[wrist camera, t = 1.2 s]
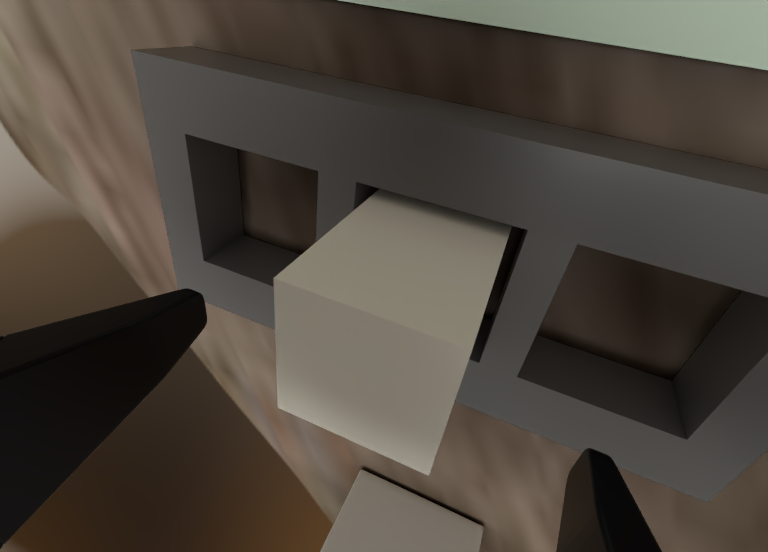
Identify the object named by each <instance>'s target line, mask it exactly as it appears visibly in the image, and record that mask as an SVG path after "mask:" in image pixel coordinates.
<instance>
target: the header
mask: <svg viewBox="0 0 768 552" xmlns="http://www.w3.org/2000/svg"><path fill="white" fill-rule="evenodd" d="M131 52H132V57H133V62H134V67H135V72H136V78H137V83H138V88H139V93H140V98H141V103H142V108H143V113H144V118H145V123H146V128H147V133H148V138H149V143H150V148H151V153H152V158H153V163H154V168H155V173H156V178H157V183H158V188H159V193H160V198H161V204H162V209H163V214H164V219H165V224H166V229H167V234H168V239H169V244H170V249H171V254H172V259H173V264H174V269H175V274H176V279H177V284H178V289H179V290H181V289H185V288H188V289H192V290H194V291H197V292H199V293H201V294H202V295H203V297H204V301H205V302H207V303H210V304H212V305H215V306H217V307H220V308H222V309H225V310H227V311H230V312H232V313H235V314H237V315H240V316H242V317H245V318H247V319H250V320H252V321H255V322H257V323H260V324H262V325H265V326H267V327H270V328H272V329H275V308H274V279H273V278H274V277H275V276H277V275H278V274H279V273H280V272H281V271H283V270H284V269H285V268H286V267H287V266H288V265H290V264H291V263H292V262H293V261H294V260H296V259H297V258H298V257H299V256H300V255H301V254H298V253H295V252H292V251H289V250H286V249H283V248H280V247H277V246H274V245H271V244H268V243H265V242H262V241H260V240H257V239H254V238H251V237H248V236H245V235H244V229H243V216H242V203H241V190H240V177H239V165H238V152H237V149H241V150H244V151H248V152H252V153H255V154H259V155H262V156H266V157H269V158H273V159H277V160H280V161H284V162H287V163H291V164H294V165H298V166H301V167H305V168H309V169H312V170H316V171H318V195H317V222H316V242H317V241H318V240H319V239H321V238H322V237H323V236H324V235H325V234H326V233H328V232H329V231H330V230H331V229H332V228H334V227H335V226H336V225H337V224H338V223H340V222H341V221H342V220H343V219H344V218H346V217H347V216H348V215H349V214H350V213H351V212H353V211H354V210H355V209H356V208H357V207H359V206H360V205H361V204H362V203H363V202H365V201H366V200H367V199H368V198H369V197H370V196H372V195H373V194H374V193H375V192H376V191H378V190H379V189H383V190H387V191H390V192H394V193H398V194H401V195H405V196H408V197H412V198H415V199H419V200H423V201H426V202H430V203H433V204H437V205H440V206H444V207H447V208H451V209H455V210H458V211H462V212H465V213H469V214H472V215H476V216H480V217H483V218H487V219H490V220H494V221H497V222H501V223H504V224H508V225H512V226H515V227H519V228H522V229H524V232H523V235H522V238H521V241H520V243H519V246H518V249H517V252H516V254H515V257H514V260H513V263H512V265H511V268H510V271H509V274H508V276H507V279H506V282H505V285H504V287H503V290H502V293H501V296H500V299H499V301H498V304H497V307H496V310H495V312H494V315H493V318H492V320H491V319H488V318H485V317H483V318H482V321H481V324H480V327H479V331H478V334H477V337H476V340H475V343H474V346H473V349H472V352H471V355H470V358H469V361H468V364H467V367H466V370H465V372H464V375H463V378H462V381H461V384H460V387H459V390H458V393H457V396H456V399H455V401H454V402H457V403H459V404H462V405H464V406H467V407H469V408H472V409H474V410H477V411H479V412H482V413H484V414H487V415H489V416H492V417H494V418H497V419H499V420H502V421H504V422H507V423H509V424H512V425H514V426H517V427H519V428H522V429H524V430H527V431H529V432H532V433H534V434H537V435H539V436H542V437H544V438H547V439H549V440H552V441H554V442H557V443H559V444H562V445H564V446H567V447H569V448H572V449H574V450H577V451H579V452H582V453H583V451H584V450H585V449H587V448H592V449H594V450H597V451H599V452H602V453H605V454H607V455H609V456H610V457H611V458H612V459H613V461H614V463H615V465H616V466H617V467H619V468H622V469H624V470H627V471H629V472H632V473H634V474H637V475H639V476H642V477H644V478H647V479H649V480H652V481H654V482H657V483H659V484H662V485H664V486H667V487H669V488H672V489H674V490H677V491H679V492H682V493H684V494H687V495H689V496H692V497H694V498H697V499H699V500H702V501H704V502H707V503H708V502H709V501H710V500H711V499H712V498H714V497H715V496H716V495H717V494H718V493H719V492H720V491H721V490H723V489H724V488H725V487H726V486H727V485H728V484H729V483H731V482H732V481H733V480H734V479H735V478H736V477H737V476H739V475H740V474H741V473H742V472H743V471H744V470H745V469H746V468H748V467H749V466H750V465H751V464H752V463H753V462H754V461H756V460H757V459H758V458H759V457H760V456H761V455H762V454H763V453H765V452H766V451H767V450H768V170H766V169H761V168H756V167H752V166H747V165H742V164H738V163H733V162H728V161H724V160H719V159H714V158H710V157H705V156H700V155H696V154H691V153H686V152H682V151H677V150H672V149H668V148H663V147H658V146H654V145H649V144H644V143H640V142H635V141H630V140H626V139H621V138H616V137H612V136H607V135H602V134H598V133H593V132H588V131H584V130H579V129H574V128H570V127H565V126H560V125H556V124H551V123H546V122H542V121H537V120H532V119H528V118H523V117H518V116H514V115H509V114H505V113H500V112H495V111H491V110H486V109H481V108H477V107H472V106H467V105H463V104H458V103H453V102H449V101H444V100H439V99H435V98H430V97H425V96H421V95H416V94H411V93H407V92H402V91H397V90H393V89H388V88H383V87H379V86H374V85H369V84H365V83H360V82H355V81H351V80H346V79H341V78H337V77H332V76H327V75H323V74H318V73H313V72H309V71H304V70H299V69H295V68H290V67H285V66H281V65H276V64H271V63H267V62H262V61H257V60H253V59H248V58H243V57H239V56H234V55H229V54H225V53H220V52H215V51H211V50H206V49H201V48H197V47H192V46H189V47H172V48H156V49H139V50H131ZM577 244H579V245H583V246H586V247H590V248H593V249H597V250H601V251H604V252H608V253H611V254H615V255H618V256H622V257H626V258H629V259H633V260H636V261H640V262H643V263H647V264H650V265H654V266H658V267H661V268H665V269H668V270H672V271H675V272H679V273H683V274H686V275H690V276H693V277H697V278H700V279H704V280H707V281H711V282H715V283H718V284H722V285H725V286H729V287H732V288H736V289H740V290H742V291H741V293H740V294H739V295H738V296H737V298H736V299H735V300H734V302H733V303H732V304H731V305H730V307H729V308H728V309H727V311H726V312H725V313H724V314H723V316H722V317H721V318H720V320H719V321H718V322H717V323H716V325H715V326H714V327H713V329H712V330H711V331H710V332H709V334H708V335H707V336H706V338H705V339H704V340H703V341H702V343H701V344H700V345H699V347H698V348H697V349H696V350H695V352H694V353H693V354H692V356H691V357H690V358H689V359H688V361H687V362H686V363H685V365H684V366H683V367H682V368H681V370H680V371H679V372H678V374H677V375H676V376H675V377H674V379H673V380H672V381H670V380H667V379H664V378H661V377H658V376H655V375H652V374H649V373H646V372H643V371H640V370H637V369H634V368H631V367H629V366H626V365H623V364H620V363H617V362H614V361H611V360H608V359H605V358H602V357H599V356H596V355H593V354H590V353H588V352H585V351H582V350H579V349H576V348H573V347H570V346H567V345H564V344H561V343H558V342H555V341H552V340H549V339H547V338H544V337H541V336H538V335H536V334H537V332H538V330H539V327H540V325H541V323H542V321H543V319H544V317H545V314H546V312H547V310H548V308H549V306H550V303H551V301H552V299H553V297H554V295H555V292H556V290H557V288H558V286H559V284H560V281H561V279H562V277H563V275H564V273H565V270H566V268H567V266H568V264H569V262H570V259H571V257H572V255H573V253H574V251H575V248H576V246H577Z"/></svg>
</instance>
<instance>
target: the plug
mask: <svg viewBox="0 0 768 552" xmlns="http://www.w3.org/2000/svg"><path fill="white" fill-rule="evenodd" d="M511 228H512V225H508V224H504V223H501V222H497V221H494V220H490V219H487V218H483V217H480V216H476V215H472V214H469V213H465V212H462V211H458V210H455V209H451V208H447V207H444V206H440V205H437V204H433V203H430V202H426V201H423V200H419V199H415V198H412V197H408V196H405V195H401V194H398V193H394V192H390V191H387V190H383V189H379V190H378V191H376V192H375V193H374V194H373V195H372V196H370V197H369V198H368V199H367V200H366V201H365V202H363V203H362V204H361V205H360V206H359V207H357V208H356V209H355V210H354V211H353V212H351V213H350V214H349V215H348V216H347V217H346V218H344V219H343V220H342V221H341V222H340V223H338V224H337V225H336V226H335V227H334V228H332V229H331V230H330V231H329V232H328V233H326V234H325V235H324V236H323V237H322V238H321V239H319V240H318V241H317V242H316V243H315V244H313V245H312V246H311V247H310V248H309V249H307V250H306V251H305V252H304V253H303V254H302V255H300V256H299V257H298V258H297V259H296V260H294V261H293V262H292V263H291V264H290V265H288V266H287V267H286V268H285V269H284V270H283V271H281V272H280V273H279V274H278V275H277V276H275V277H274V278H273V279H274V308H275V337H276V366H277V395H278V408H280V409H282V410H284V411H286V412H289V413H291V414H293V415H295V416H297V417H300V418H302V419H304V420H306V421H308V422H311V423H313V424H315V425H317V426H320V427H322V428H324V429H326V430H328V431H331V432H333V433H335V434H337V435H339V436H342V437H344V438H346V439H348V440H350V441H353V442H355V443H357V444H359V445H362V446H364V447H366V448H368V449H370V450H373V451H375V452H377V453H379V454H381V455H384V456H386V457H388V458H390V459H392V460H395V461H397V462H399V463H401V464H403V465H406V466H408V467H410V468H412V469H415V470H417V471H419V472H421V473H423V474H426V475H428V476H429V474H430V471H431V468H432V465H433V462H434V459H435V456H436V453H437V451H438V448H439V445H440V442H441V439H442V436H443V433H444V430H445V427H446V425H447V422H448V419H449V416H450V413H451V410H452V407H453V404H454V401H455V399H456V396H457V393H458V390H459V387H460V384H461V381H462V378H463V375H464V372H465V370H466V367H467V364H468V361H469V358H470V355H471V352H472V349H473V346H474V343H475V340H476V337H477V334H478V331H479V327H480V324H481V321H482V318H483V315H484V312H485V309H486V306H487V303H488V299H489V296H490V293H491V290H492V287H493V284H494V281H495V278H496V275H497V271H498V268H499V265H500V262H501V259H502V256H503V253H504V250H505V247H506V243H507V240H508V237H509V234H510V231H511Z"/></svg>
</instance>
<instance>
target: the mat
mask: <svg viewBox="0 0 768 552" xmlns="http://www.w3.org/2000/svg"><path fill="white" fill-rule="evenodd" d="M339 1H345V2H351V3H357V4H363V5H369V6H376V7H382V8H388V9H394V10H400V11H406V12H412V13H419V14H425V15H431V16H437V17H443V18H449V19H456V20H462V21H468V22H474V23H480V24H486V25H492V26H499V27H505V28H511V29H517V30H523V31H529V32H536V33H542V34H548V35H554V36H560V37H566V38H572V39H579V40H585V41H591V42H597V43H603V44H609V45H616V46H622V47H628V48H634V49H640V50H646V51H652V52H659V53H665V54H671V55H677V56H683V57H689V58H696V59H702V60H708V61H714V62H720V63H726V64H732V65H739V66H745V67H751V68H757V69H763V70H768V0H339Z"/></svg>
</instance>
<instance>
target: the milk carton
mask: <svg viewBox="0 0 768 552" xmlns="http://www.w3.org/2000/svg"><path fill="white" fill-rule="evenodd" d="M482 534H483V526H481V525H479V524H477V523H475V522H473V521H471V520H469V519H466V518H464V517H462V516H460V515H458V514H456V513H454V512H452V511H450V510H447V509H445V508H443V507H441V506H439V505H437V504H435V503H433V502H431V501H428V500H426V499H424V498H422V497H420V496H418V495H416V494H414V493H411V492H409V491H407V490H405V489H403V488H401V487H399V486H397V485H394V484H392V483H390V482H388V481H386V480H384V479H382V478H379V477H377V476H375V475H373V474H371V473H369V472H367V471H364V470H362V469H361V470H360V471H359V473H358V475H357V477H356V479H355V481H354V483H353V486H352V488H351V490H350V492H349V494H348V496H347V498H346V500H345V502H344V504H343V506H342V508H341V510H340V512H339V514H338V516H337V518H336V520H335V522H334V524H333V527H332V529H331V531H330V533H329V535H328V537H327V539H326V541H325V543H324V545H323V547H322V549H321V551H320V552H479V550H480V545H481V539H482Z"/></svg>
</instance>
